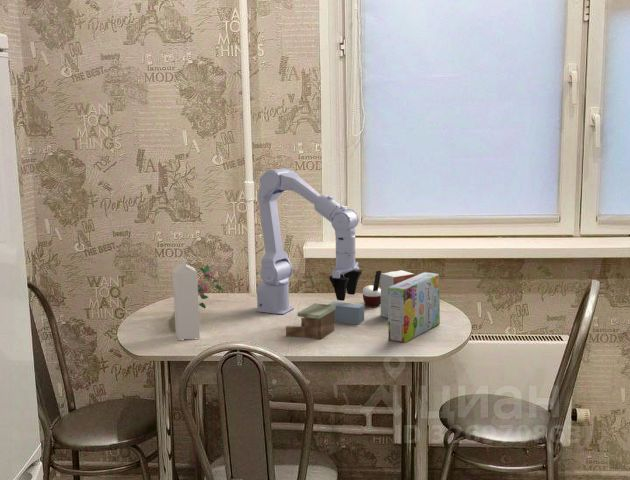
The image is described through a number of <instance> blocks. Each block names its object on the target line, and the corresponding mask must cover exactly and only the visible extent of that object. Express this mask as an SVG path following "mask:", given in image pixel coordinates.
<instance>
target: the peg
mask: <svg viewBox="0 0 630 480" xmlns="http://www.w3.org/2000/svg"><path fill="white" fill-rule="evenodd" d="M327 305H335V306H336V309H335V310H334V323H345V324H347V323H348V324H354V325H360V324H362V323H363V322H364V321H365V304H363V303H362V304H360V303H359V304H358V303H351V302H343V301H332V302H330V303H328V304H327Z"/></svg>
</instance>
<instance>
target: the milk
mask: <svg viewBox="0 0 630 480" xmlns="http://www.w3.org/2000/svg"><path fill="white" fill-rule="evenodd" d="M198 282H199V280H198V271H197V270H196V268H195V267H193V266H192V265H189V264H187V261H186V259H185V258H184V257H182V263H180V264H179V265H177V266H176V267H174V268H173V269H172V283H173V287H172V288H173V303H174V304H173V305H174V307H173V308H174V312H175V330H176V332H175V336H176V338H178V339H177V341H178V340H182V339H192V340H196V339H195V338H200V339H201V334H200V333H201V331H200V330H201V329H200V309H199V307H200V305H199V296H198ZM182 341H183V340H182Z"/></svg>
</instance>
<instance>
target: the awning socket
mask: <svg viewBox="0 0 630 480" xmlns="http://www.w3.org/2000/svg"><path fill="white" fill-rule="evenodd" d="M335 309H336V306H335V305H328V304H327V303H326V304H325V303H316V302H314V303H313V304H311V305H309V306H307V307H306V308H304V309H302V310H300V311H298V312H297V317H300V319H301V322H300V323H301V324H300V325H301V326H292V325H287V326H286V327H285V336H286V337H303V338H310V339H317V340H322V339H324V338H325V337H327V336H328V335H329V334H331V333H333V332H334V331H335V321H334V310H335Z"/></svg>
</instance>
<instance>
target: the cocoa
mask: <svg viewBox="0 0 630 480" xmlns="http://www.w3.org/2000/svg"><path fill="white" fill-rule="evenodd" d="M381 274H382V271H381V270H377V271H375V276H374V282H373V285H372V284H371V285H366V286H364V288H363V287H362V298H363V303H364V305H366V306H368V307H369V306H371V308H376V307H375V306H377V307H378V306H381V287H379V286H380V282H381Z"/></svg>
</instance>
